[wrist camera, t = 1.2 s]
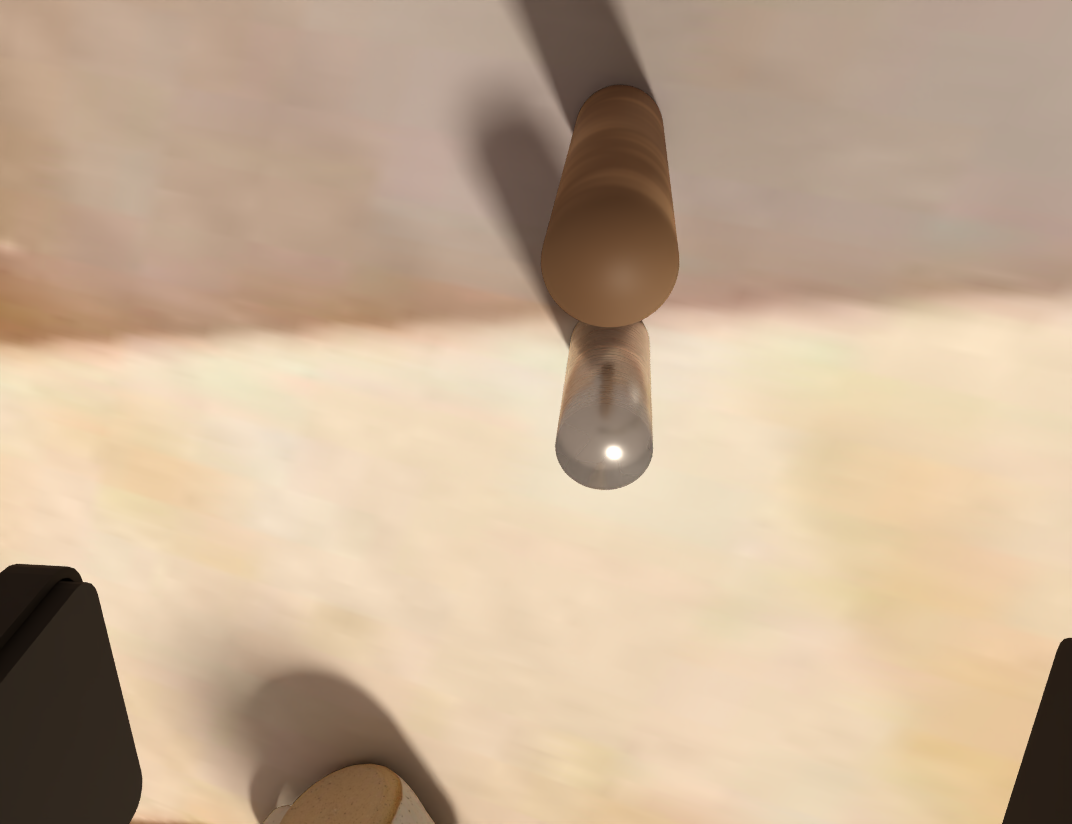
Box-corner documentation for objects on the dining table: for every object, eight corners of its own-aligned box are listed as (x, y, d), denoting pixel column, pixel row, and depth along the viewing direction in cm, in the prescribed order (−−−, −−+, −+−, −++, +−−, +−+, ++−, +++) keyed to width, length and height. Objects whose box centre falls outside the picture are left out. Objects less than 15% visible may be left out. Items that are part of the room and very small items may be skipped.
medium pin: (652, 309, 37) (655, 407, 30) (647, 382, 38) (649, 492, 31) (571, 306, 37) (556, 402, 30) (569, 378, 38) (554, 487, 31)
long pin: (666, 85, 33) (684, 197, 21) (660, 175, 35) (674, 330, 22) (576, 83, 33) (541, 193, 21) (574, 172, 35) (540, 324, 22)
